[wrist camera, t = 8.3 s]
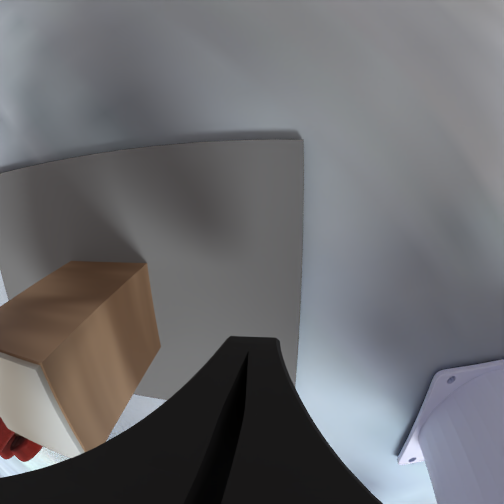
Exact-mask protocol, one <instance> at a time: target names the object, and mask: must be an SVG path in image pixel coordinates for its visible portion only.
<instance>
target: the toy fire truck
mask: <svg viewBox="0 0 504 504" xmlns="http://www.w3.org/2000/svg"><path fill="white" fill-rule="evenodd" d="M42 447H43V446H41V445H39V444H37V443H35V442H33V441H31V440H29V439H27V438H25V437H23V436H21V435H19V434H17V433H15V432H13V431H11V430H10V429H8V428H7V426H6V425H5V423H4V422H3V420H2V418H1V417H0V456H1V457H2V458H4V459H9V458H11V457H12V456H14V455H15V456H16V457H17V458H18V459H19V460H21V461H23V462H26V461H28V460H30V459H32V458H33V457H34V456H35V455H36V454H37V453H38V452H39V451H40V450H41V448H42Z"/></svg>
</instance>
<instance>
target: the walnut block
mask: <svg viewBox="0 0 504 504" xmlns="http://www.w3.org/2000/svg"><path fill="white" fill-rule="evenodd" d="M160 348H161V344H160V339H159V334H158V328H157V323H156V317H155V311H154V305H153V299H152V293H151V287H150V280H149V273H148V266H147V263H123V262H90V261H70V262H68V263H67V264H65V265H63V266H62V267H60V268H59V269H57V270H55V271H54V272H52V273H51V274H49V275H47V276H46V277H44V278H43V279H41V280H40V281H38V282H36V283H35V284H33V285H32V286H30V287H29V288H27V289H26V290H24V291H23V292H21V293H20V294H18V295H17V296H15V297H14V298H12V299H11V300H9V301H8V302H6V303H5V304H4V305H2V306H1V307H0V417H1V418H2V420H3V422H4V423H5V425H6V426H7V428H8V429H10V430H11V431H13V432H15V433H17V434H19V435H21V436H23V437H25V438H27V439H29V440H31V441H33V442H35V443H37V444H39V445H41V446H43V447H46V448H48V449H50V450H52V451H55V452H57V453H59V454H62V455H64V456H67V457H69V458H73V457H75V456H78V455H80V454H82V453H84V452H87V451H89V450H91V449H93V448H95V447H97V446H99V445H101V444H103V443H105V442H106V440H107V438H108V437H109V435H110V433H111V431H112V430H113V428H114V426H115V424H116V423H117V421H118V419H119V417H120V416H121V414H122V412H123V410H124V409H125V407H126V405H127V403H128V402H129V400H130V398H131V397H132V395H133V393H134V391H135V390H136V388H137V386H138V385H139V383H140V381H141V380H142V378H143V376H144V374H145V373H146V371H147V369H148V368H149V366H150V364H151V363H152V361H153V359H154V358H155V356H156V354H157V353H158V351H159V349H160Z"/></svg>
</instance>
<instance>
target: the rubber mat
mask: <svg viewBox="0 0 504 504" xmlns="http://www.w3.org/2000/svg"><path fill="white" fill-rule="evenodd" d="M303 196H304V153H303V140H299V139H266V140H230V141H210V142H194V143H181V144H170V145H159V146H150V147H141V148H133V149H125V150H117V151H110V152H103V153H97V154H90V155H84V156H79V157H73V158H67V159H62V160H57V161H52V162H47V163H42V164H38V165H33V166H28V167H24V168H20V169H16V170H12V171H8V172H4V173H0V270H1V274H2V278H3V282H4V285H5V289H6V292H7V296H8V299H9V300H11V299H12V298H14V297H15V296H17V295H18V294H20V293H21V292H23V291H24V290H26V289H27V288H29V287H30V286H32V285H33V284H35V283H36V282H38V281H40V280H41V279H43V278H44V277H46V276H47V275H49V274H51V273H52V272H54V271H55V270H57V269H59V268H60V267H62V266H63V265H65V264H67V263H68V262H70V261H90V262H123V263H147V266H148V273H149V280H150V287H151V293H152V299H153V305H154V311H155V317H156V323H157V328H158V334H159V339H160V344H161V348H160V349H159V351H158V353H157V354H156V356H155V358H154V359H153V361H152V363H151V364H150V366H149V368H148V369H147V371H146V373H145V374H144V376H143V378H142V380H141V381H140V383H139V385H138V386H137V388H136V390H135V391H134V393H133V394H135V395H141V396H146V397H152V398H158V399H164V400H168V399H169V398H171V397H172V396H173V395H174V394H175V393H176V392H177V391H178V390H180V389H181V388H182V387H183V386H184V385H185V384H186V383H187V382H188V381H189V380H190V379H191V378H192V377H193V376H194V375H195V374H196V373H197V372H198V371H199V370H200V369H201V368H202V367H203V366H204V365H205V364H206V363H207V361H208V360H209V359H210V358H211V357H212V356H213V355H214V354H215V352H216V351H217V350H218V349H219V348H220V347H221V345H222V344H223V343H224V342H225V340H226V339H227V338H229V337H230V336H245V337H275V338H277V339H278V340H279V341H280V347H281V352H282V356H283V359H284V362H285V365H286V368H287V370H288V373H289V376H290V378H291V380H292V382H293V384H294V387H295V382H296V369H297V355H298V339H299V322H300V303H301V280H302V250H303Z"/></svg>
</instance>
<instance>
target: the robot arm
mask: <svg viewBox="0 0 504 504" xmlns="http://www.w3.org/2000/svg"><path fill="white" fill-rule="evenodd" d="M450 377H451V378H450ZM421 461H425V463H426V466H427V470H428V473H429V476H430V479H431V483H432V486H433V490H434V493H435V497H436V500H437V504H504V359H502V360H497V361H492V362H487V363H481V364H476V365H470V366H464V367H457V368H451V369H444V370H440V371H439V372H437V373H436V374H435V375H434V377H433V379H432V382H431V385H430V387H429V390H428V392H427V395H426V397H425V400H424V402H423V405H422V407H421V409H420V412H419V414H418V416H417V419H416V421H415V423H414V425H413V427H412V430H411V432H410V434H409V436H408V438H407V440H406V442H405V444H404V446H403V448H402V450H401V452H400V454H399V456H398V458H397V462H398V464H400V465H405V464H411V463H416V462H421ZM0 504H383V503H382V502H381V501H379V500H378V499H377V498H376V497H375V496H374V495H373V494H372V493H371V492H370V491H369V490H368V489H367V488H366V487H365V486H364V485H363V484H362V483H361V482H360V481H359V479H358V478H357V477H356V476H355V475H354V474H353V473H352V472H351V471H350V470H349V469H348V468H347V466H346V465H345V464H344V463H343V462H342V461H341V459H340V458H339V457H338V456H337V454H336V453H335V452H334V450H333V449H332V448H331V447H330V445H329V444H328V442H327V441H326V440H325V438H324V437H323V435H322V434H321V432H320V431H319V429H318V428H317V426H316V425H315V423H314V422H313V420H312V418H311V417H310V415H309V413H308V412H307V410H306V408H305V406H304V404H303V403H302V401H301V399H300V397H299V395H298V393H297V391H296V389H295V387H294V384H293V382H292V380H291V378H290V376H289V373H288V370H287V368H286V365H285V362H284V359H283V356H282V352H281V347H280V341H279V340H278V339H277V338H275V337H245V336H230V337H229V338H227V339H226V340H225V342H224V343H223V344H222V345H221V347H220V348H219V349H218V350H217V351H216V352H215V354H214V355H213V356H212V357H211V358H210V359H209V360H208V361H207V363H206V364H205V365H204V366H203V367H202V368H201V369H200V370H199V371H198V372H197V373H196V374H195V375H194V376H193V377H192V378H191V379H190V380H189V381H188V382H187V383H186V384H185V385H184V386H183V387H182V388H181V389H180V390H178V391H177V392H176V393H175V394H174V395H173V396H172V397H171V398H169V399H168V400H167V401H166V402H165V403H164V404H162V405H161V406H160V407H159V408H157V409H156V410H155V411H153V412H152V413H151V414H149V415H148V416H147V417H145V418H144V419H142V420H141V421H140V422H138V423H137V424H135V425H134V426H132V427H131V428H129V429H127V430H126V431H124V432H122V433H121V434H119V435H117V436H116V437H114V438H112V439H110V440H108V441H107V442H105V443H103V444H101V445H99V446H97V447H95V448H93V449H91V450H89V451H87V452H84V453H82V454H80V455H78V456H75V457H73V458H70V459H68V460H65V461H62V462H60V463H57V464H54V465H51V466H48V467H45V468H41V469H38V470H34V471H30V472H26V473H22V474H18V475H13V476H9V477H3V478H0Z"/></svg>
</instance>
